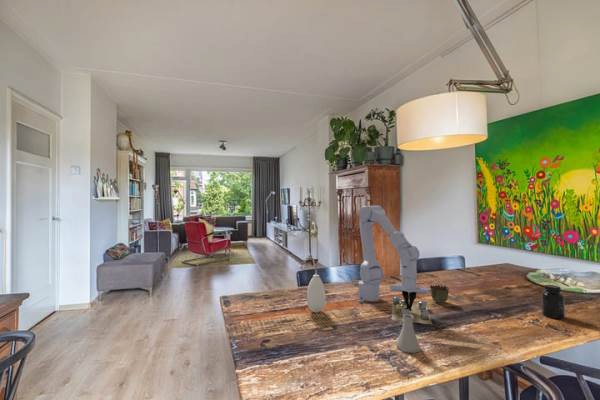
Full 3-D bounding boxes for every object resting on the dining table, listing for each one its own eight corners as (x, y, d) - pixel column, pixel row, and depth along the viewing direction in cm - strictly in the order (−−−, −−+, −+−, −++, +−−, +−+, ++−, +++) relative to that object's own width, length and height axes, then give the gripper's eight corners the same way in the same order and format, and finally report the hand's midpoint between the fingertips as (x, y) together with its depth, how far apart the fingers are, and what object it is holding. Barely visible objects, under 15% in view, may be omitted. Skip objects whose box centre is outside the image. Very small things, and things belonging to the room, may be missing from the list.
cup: (451, 308, 121) (451, 290, 121) (432, 307, 123) (432, 289, 123) (445, 302, 129) (445, 284, 129) (428, 301, 130) (428, 284, 130)
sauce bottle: (327, 315, 115) (326, 270, 115) (307, 316, 114) (307, 271, 114) (324, 308, 123) (323, 266, 123) (306, 308, 122) (305, 266, 122)
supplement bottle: (559, 314, 115) (559, 284, 115) (568, 320, 109) (568, 289, 109) (538, 312, 117) (538, 283, 117) (546, 318, 111) (546, 287, 111)
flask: (392, 342, 93) (392, 312, 93) (413, 341, 94) (413, 311, 94) (402, 354, 86) (402, 321, 86) (425, 353, 86) (425, 320, 86)
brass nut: (396, 312, 114) (396, 307, 114) (396, 309, 118) (396, 304, 118) (406, 313, 113) (406, 308, 113) (406, 310, 117) (406, 305, 117)
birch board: (391, 322, 108) (391, 319, 108) (391, 305, 126) (391, 302, 126) (432, 327, 103) (432, 324, 103) (426, 308, 122) (426, 305, 122)
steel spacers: (392, 316, 111) (392, 308, 111) (392, 302, 126) (392, 295, 126) (429, 320, 106) (429, 312, 106) (425, 305, 122) (425, 298, 122)
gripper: (390, 277, 113) (390, 311, 113) (429, 280, 109) (429, 316, 109) (390, 273, 120) (390, 305, 120) (427, 276, 116) (427, 309, 115)
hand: (409, 310), depth 115 cm, fingers closed
